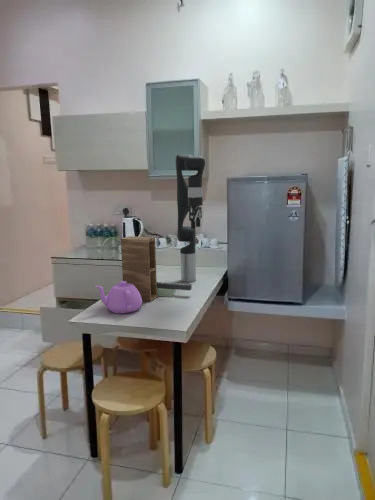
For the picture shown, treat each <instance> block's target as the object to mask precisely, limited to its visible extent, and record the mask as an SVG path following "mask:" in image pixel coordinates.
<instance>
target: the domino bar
mask: <svg viewBox="0 0 375 500" xmlns="http://www.w3.org/2000/svg"><path fill="white" fill-rule="evenodd" d="M192 286H193V285H192V284H191V283H190V284H189V283H176V282H175V283H173V282H164V281H163V282H159V281H157V288H163V289H176V290H179V291H191V290H192Z"/></svg>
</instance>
